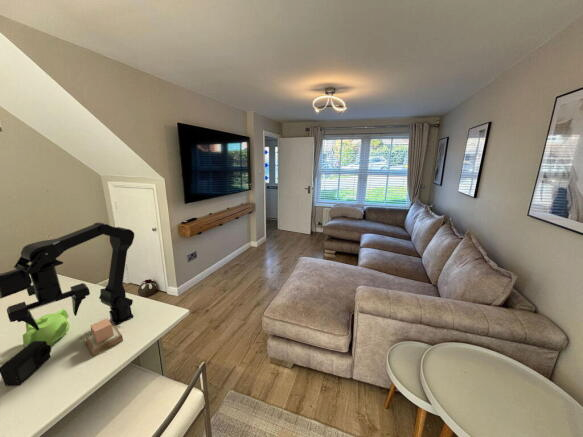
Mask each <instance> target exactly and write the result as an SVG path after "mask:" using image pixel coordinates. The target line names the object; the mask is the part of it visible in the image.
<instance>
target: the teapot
mask: <svg viewBox="0 0 583 437" xmlns="http://www.w3.org/2000/svg"><path fill="white" fill-rule="evenodd" d="M68 318H69V314H68V312H67V311H66V309H65V308H64V309H63V308H61V309H59V310H58V311H57V312H56V313H46V314H45V315H42V316H40V317H39V318H36V319H35V318H34V319H35V321H36V323H37V325H38V327H39V330H36V329H35V328H34V327H32V326H31V325H30V324H28V323H26V322H25V328H26V331H25V333H23V334H22V345H23V346H28V345H29V344H30V343H31V342H33V341H46V343H47V345H50V346H51V347H52V346H54V345H55V342H56V341H58V340H60V339H61V338H62V337H65V336H66V335H67V332H68V331H69V329H70V326H71V324H70V322H69V320H68Z"/></svg>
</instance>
